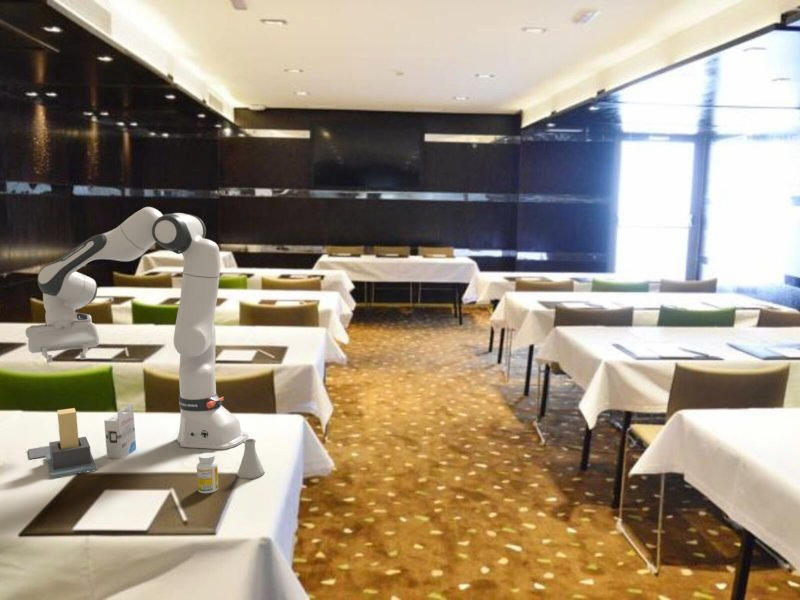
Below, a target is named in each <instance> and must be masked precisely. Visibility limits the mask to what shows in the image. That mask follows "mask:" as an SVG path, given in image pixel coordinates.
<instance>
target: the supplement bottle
mask: <svg viewBox="0 0 800 600" xmlns="http://www.w3.org/2000/svg"><path fill="white" fill-rule="evenodd" d="M215 457H216V456H215V453H213V452H203V453H200V454H199V456H198V461H199V462H198V463H197V464H196V477H197V478H196V479H197V480H196V481H197V491H198V492H199V493H200V494H211V493H215V492H217V491H218V489H219V473H218V470H219V468H218V462H216V461H215Z"/></svg>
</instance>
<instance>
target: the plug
mask: <svg viewBox="0 0 800 600" xmlns="http://www.w3.org/2000/svg"><path fill="white" fill-rule="evenodd" d="M56 411H57V422H58V424H57V425H58V434H59V435H58V436H59V441H60V448H61V449H65V448H71V447H77V446H79V441H78V438H79V431H78V416H77V411H76V409H75V407H73V408H65V409H57V410H56Z"/></svg>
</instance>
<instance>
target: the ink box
mask: <svg viewBox="0 0 800 600" xmlns="http://www.w3.org/2000/svg"><path fill="white" fill-rule="evenodd" d="M125 411H126V412H125ZM104 433H105V435H104V436H105V447H106V458H108V459H116V458H117V459H119V460H122V459H123V457H124V458H125V457H126V455H127V456H128V455H129V453H130V454H131V453H133V452H134V451H136V450H137V443H136V441H137V440H136V429H135V413H134V404H133V403H130V404H129V405H126V406H125V407H123V408H121V409H119V410H118V411H117V413H115V414H114V415H112V416H111V417H109V418H106V419H105V420H104ZM117 459H116V460H117Z"/></svg>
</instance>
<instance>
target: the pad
mask: <svg viewBox="0 0 800 600" xmlns="http://www.w3.org/2000/svg"><path fill="white" fill-rule="evenodd" d="M27 452H28V458H29V460H36V459H37V460H38V459H43V458H46V455H49V454H50V446H49V445H46V446H40V447H39V446H38V447H34V448H28V449H27Z"/></svg>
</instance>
